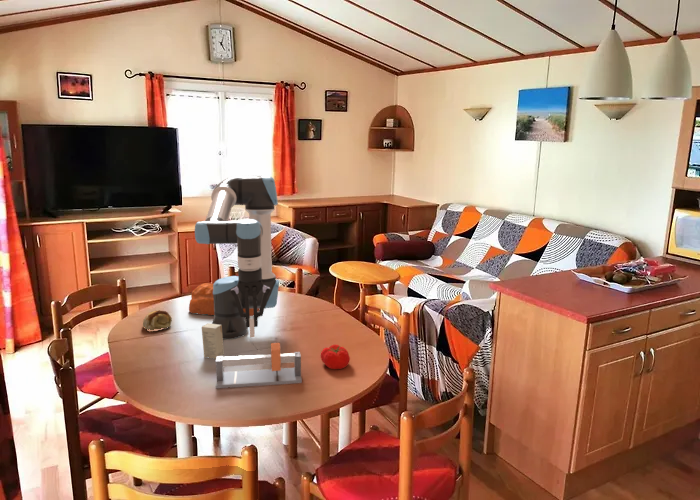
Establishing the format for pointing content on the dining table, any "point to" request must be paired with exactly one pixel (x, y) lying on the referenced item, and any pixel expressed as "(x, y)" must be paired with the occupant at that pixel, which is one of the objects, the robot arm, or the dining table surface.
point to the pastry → (157, 320)
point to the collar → (275, 356)
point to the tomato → (335, 357)
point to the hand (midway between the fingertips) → (252, 335)
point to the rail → (256, 362)
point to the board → (258, 378)
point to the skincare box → (212, 340)
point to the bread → (205, 300)
